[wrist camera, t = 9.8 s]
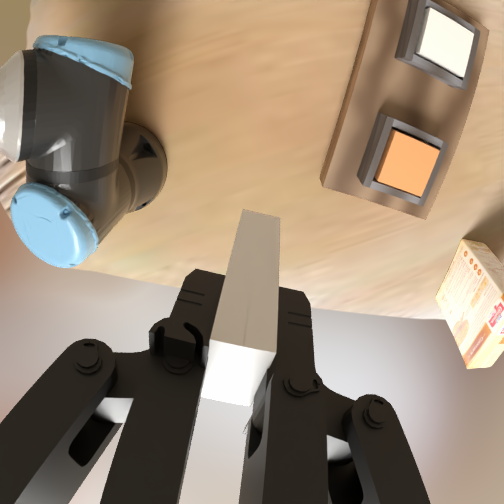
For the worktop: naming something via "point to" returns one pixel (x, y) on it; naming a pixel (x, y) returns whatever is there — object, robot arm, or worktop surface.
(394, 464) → the robot arm
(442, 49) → the white key
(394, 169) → the orange key
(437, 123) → the key panel
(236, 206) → the worktop surface
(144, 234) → the worktop surface
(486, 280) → the coffeecake box
